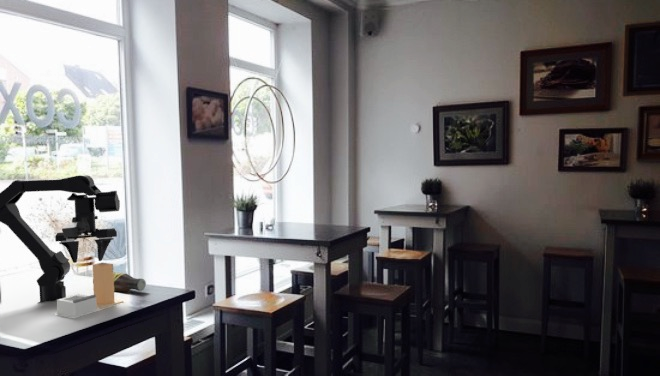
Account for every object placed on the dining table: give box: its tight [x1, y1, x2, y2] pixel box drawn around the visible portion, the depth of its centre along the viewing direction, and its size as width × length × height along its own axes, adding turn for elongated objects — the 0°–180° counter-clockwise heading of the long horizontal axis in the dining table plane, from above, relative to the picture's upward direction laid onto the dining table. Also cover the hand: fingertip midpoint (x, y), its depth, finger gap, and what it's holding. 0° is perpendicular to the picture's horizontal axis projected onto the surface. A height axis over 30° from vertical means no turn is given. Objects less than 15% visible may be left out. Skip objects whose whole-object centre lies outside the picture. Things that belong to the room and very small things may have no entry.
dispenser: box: [53, 293, 126, 319], centre depth 149 cm, size 9×18×6 cm, turn 152°
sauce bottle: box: [113, 271, 147, 293], centre depth 172 cm, size 6×6×20 cm
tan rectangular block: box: [92, 262, 115, 305], centre depth 153 cm, size 5×3×12 cm
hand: (87, 261), depth 159 cm, fingers open, 9 cm apart
